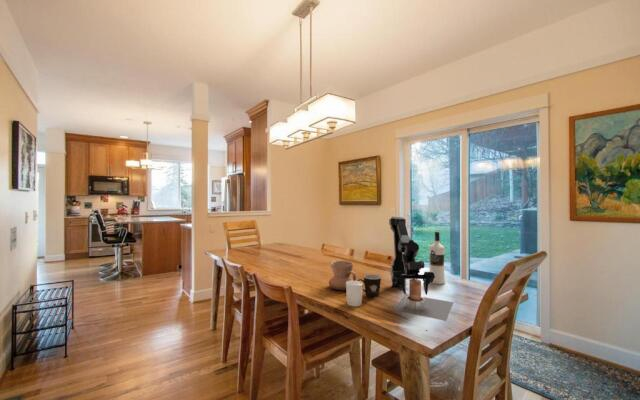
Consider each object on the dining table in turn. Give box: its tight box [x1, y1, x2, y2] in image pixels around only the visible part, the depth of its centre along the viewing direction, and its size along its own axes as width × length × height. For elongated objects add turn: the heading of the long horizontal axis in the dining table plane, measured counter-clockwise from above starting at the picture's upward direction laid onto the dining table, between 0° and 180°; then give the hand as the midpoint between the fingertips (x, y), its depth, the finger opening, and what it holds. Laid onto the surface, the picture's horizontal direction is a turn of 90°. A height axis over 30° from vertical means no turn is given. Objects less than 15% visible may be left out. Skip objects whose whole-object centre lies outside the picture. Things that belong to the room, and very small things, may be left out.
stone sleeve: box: [405, 296, 425, 311], centre depth 131 cm, size 8×8×4 cm
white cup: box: [345, 280, 364, 308], centre depth 138 cm, size 8×8×10 cm
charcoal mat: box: [391, 293, 454, 321], centre depth 133 cm, size 22×24×1 cm
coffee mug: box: [356, 274, 382, 300], centre depth 149 cm, size 12×9×10 cm
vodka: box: [428, 231, 446, 285], centre depth 173 cm, size 9×9×30 cm
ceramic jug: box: [328, 260, 357, 292], centre depth 161 cm, size 18×14×14 cm
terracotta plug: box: [408, 279, 422, 301], centre depth 131 cm, size 5×5×12 cm
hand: (415, 294), depth 130 cm, fingers open, 9 cm apart
